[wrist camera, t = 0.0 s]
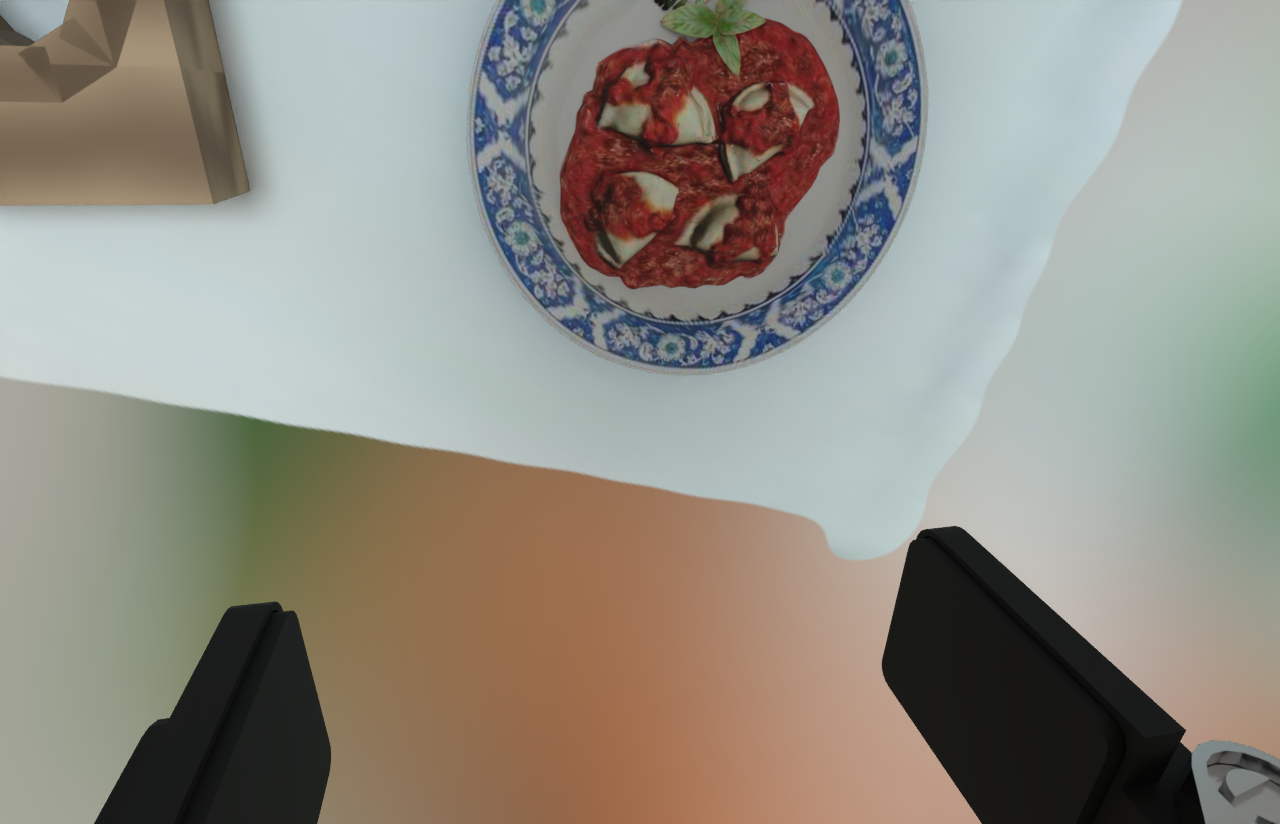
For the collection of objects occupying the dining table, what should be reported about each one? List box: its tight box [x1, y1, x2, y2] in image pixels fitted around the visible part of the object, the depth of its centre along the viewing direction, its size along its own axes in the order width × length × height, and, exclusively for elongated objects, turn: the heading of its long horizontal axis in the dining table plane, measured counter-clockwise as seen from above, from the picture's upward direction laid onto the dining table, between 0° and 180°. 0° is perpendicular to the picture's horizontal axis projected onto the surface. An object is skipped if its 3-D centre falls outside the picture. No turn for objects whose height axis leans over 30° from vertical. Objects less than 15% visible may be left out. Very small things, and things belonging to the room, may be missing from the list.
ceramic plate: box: [467, 0, 928, 375], centre depth 36 cm, size 26×26×3 cm
